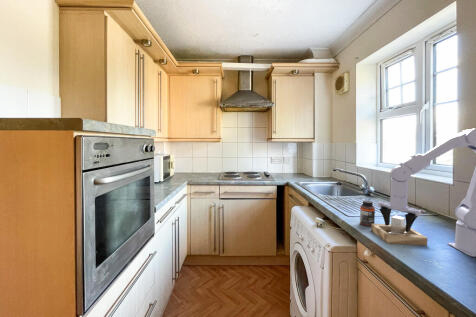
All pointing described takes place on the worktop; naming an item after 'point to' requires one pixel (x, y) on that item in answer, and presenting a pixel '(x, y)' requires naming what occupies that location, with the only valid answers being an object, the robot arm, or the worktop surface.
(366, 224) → the supplement bottle
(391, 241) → the well block
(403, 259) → the worktop surface
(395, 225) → the stepped metal bar
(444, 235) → the worktop surface
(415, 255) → the worktop surface
